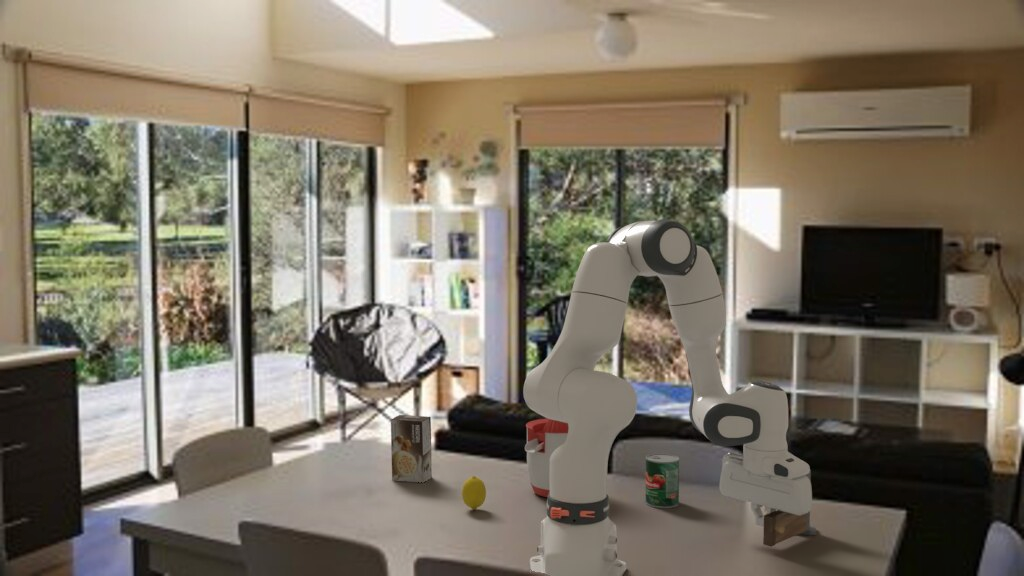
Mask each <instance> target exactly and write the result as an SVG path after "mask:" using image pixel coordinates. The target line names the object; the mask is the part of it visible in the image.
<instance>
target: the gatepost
mask: <svg viewBox="0 0 1024 576" xmlns="http://www.w3.org/2000/svg"><path fill="white" fill-rule="evenodd" d="M806 476H807V477H808V478H809V480H810V482H812V481H811V479H812V478H811V477H812V470H811V469H810V471H809V473H808V474H806ZM810 521H811V510H810V511H809V512H808V513H807V527H806V531H805V532H802V533H800V534H799V535H802V536H804V535H805V536H807V535H808V536H817V533H818V531H817V529H816V526H815V524H810Z"/></svg>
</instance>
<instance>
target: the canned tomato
mask: <svg viewBox="0 0 1024 576" xmlns="http://www.w3.org/2000/svg"><path fill="white" fill-rule="evenodd" d="M679 490H680V457H679V456H677V455H675V454H672V453H671V454H670V453H652V454H651V453H650V454H647V455H646V456H645V504H646V505H647V506H649V507H652V508H658V509H672V508H675V507H679V505H680V499H679V498H680V494H679V493H680V491H679Z"/></svg>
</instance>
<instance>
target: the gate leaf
mask: <svg viewBox="0 0 1024 576" xmlns="http://www.w3.org/2000/svg"><path fill="white" fill-rule="evenodd" d="M763 516H764V527H763V541H762V542H763V544H762V545H764V546H768V547H773V546H776V545H777V544H779V543H782V542H784V541H786V540H788V539H791V538H793V537H795V536H797V535H801V534H800V533H802V532H805V531H806V527H807V513H806V514H804V515H800V516H799V515H795V514H791V513H788V512H784V511H780V510H776V511H774V512H772V513H769V514H767V515H766V514H763Z"/></svg>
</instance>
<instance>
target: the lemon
mask: <svg viewBox="0 0 1024 576" xmlns="http://www.w3.org/2000/svg"><path fill="white" fill-rule="evenodd" d="M486 490H487V489H486V485H485V483H484V481H483V480H482V479H481V478H479V477H477V476H476V475H472V476H471V477H469V478H467V479H466V480H465V481H464V483H463V485H462V489H461V497H462V501H463V503H464V504H465V506H467V507H469V508H470V509H471V510H472V511H473V510H474V511H475V510H477V508H479V507H481V506H483V504H484V502H485V500H486V496H487V491H486Z"/></svg>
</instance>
